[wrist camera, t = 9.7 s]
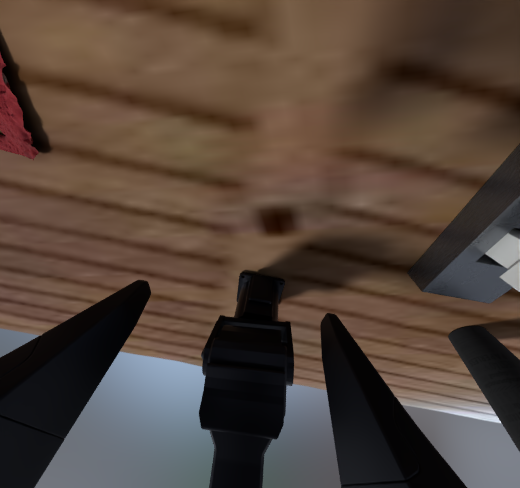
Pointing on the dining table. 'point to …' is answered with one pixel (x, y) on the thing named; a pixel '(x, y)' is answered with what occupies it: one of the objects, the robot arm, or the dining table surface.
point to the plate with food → (13, 122)
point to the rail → (474, 241)
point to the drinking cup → (492, 373)
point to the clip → (508, 257)
